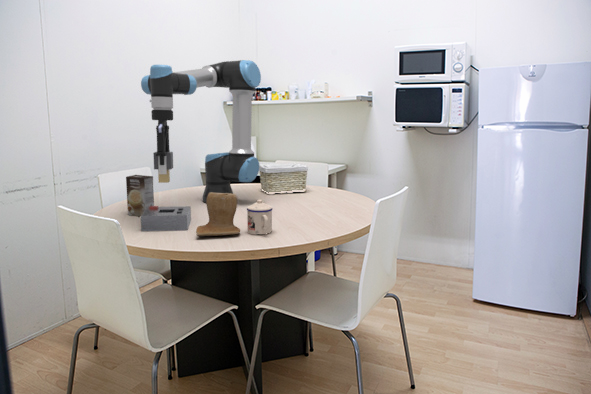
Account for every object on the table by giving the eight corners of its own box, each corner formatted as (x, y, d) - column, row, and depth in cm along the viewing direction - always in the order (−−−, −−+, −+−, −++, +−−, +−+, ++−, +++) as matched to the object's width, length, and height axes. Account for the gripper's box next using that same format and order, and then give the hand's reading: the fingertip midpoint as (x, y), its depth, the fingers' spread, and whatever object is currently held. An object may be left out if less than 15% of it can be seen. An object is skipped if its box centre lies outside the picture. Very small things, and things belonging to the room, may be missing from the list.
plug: (173, 180, 172) (172, 151, 170) (171, 183, 166) (170, 152, 164) (157, 180, 171) (156, 151, 169) (154, 183, 165) (153, 152, 163)
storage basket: (265, 195, 236) (265, 167, 233) (257, 190, 251) (257, 163, 248) (308, 193, 243) (308, 166, 240) (298, 188, 258) (299, 162, 255)
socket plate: (190, 219, 179) (190, 204, 178) (187, 230, 164) (186, 212, 163) (148, 220, 177) (148, 205, 176) (141, 231, 161) (140, 213, 160)
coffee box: (126, 215, 186) (124, 176, 183) (137, 212, 192) (135, 174, 189) (145, 217, 183) (143, 177, 181) (155, 214, 189) (153, 175, 186)
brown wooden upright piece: (237, 229, 166) (237, 188, 163) (241, 237, 155) (241, 194, 152) (195, 231, 162) (194, 189, 160) (196, 240, 151) (195, 195, 148)
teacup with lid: (243, 230, 164) (243, 198, 162) (267, 228, 168) (267, 197, 166) (253, 238, 153) (253, 204, 151) (279, 236, 157) (279, 203, 155)
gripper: (156, 109, 173) (158, 170, 177) (146, 108, 154) (148, 176, 158) (176, 110, 174) (177, 170, 178) (169, 108, 155) (171, 176, 159)
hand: (164, 172), depth 168 cm, fingers closed on plug, 6 cm apart
